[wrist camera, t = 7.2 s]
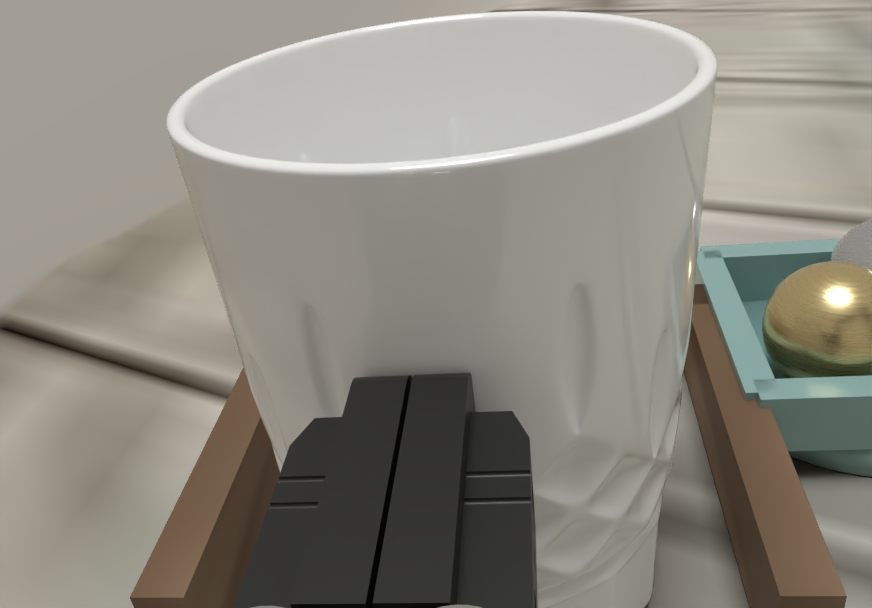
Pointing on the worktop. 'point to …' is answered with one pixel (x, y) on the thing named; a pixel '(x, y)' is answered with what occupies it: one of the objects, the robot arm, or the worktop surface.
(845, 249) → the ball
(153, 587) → the cradle
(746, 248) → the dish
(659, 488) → the white cup
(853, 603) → the worktop surface
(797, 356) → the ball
